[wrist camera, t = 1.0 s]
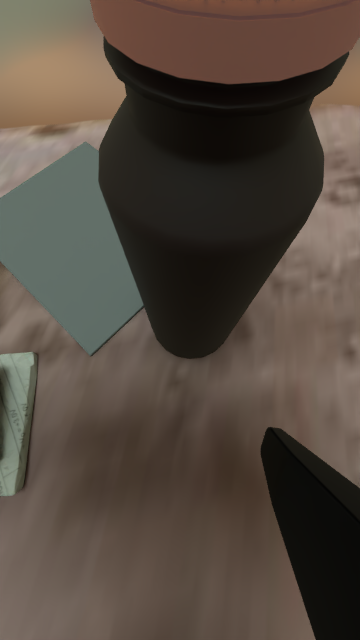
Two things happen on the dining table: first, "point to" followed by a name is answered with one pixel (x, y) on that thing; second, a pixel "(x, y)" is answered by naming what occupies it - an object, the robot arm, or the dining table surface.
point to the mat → (69, 249)
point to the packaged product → (15, 417)
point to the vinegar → (214, 148)
